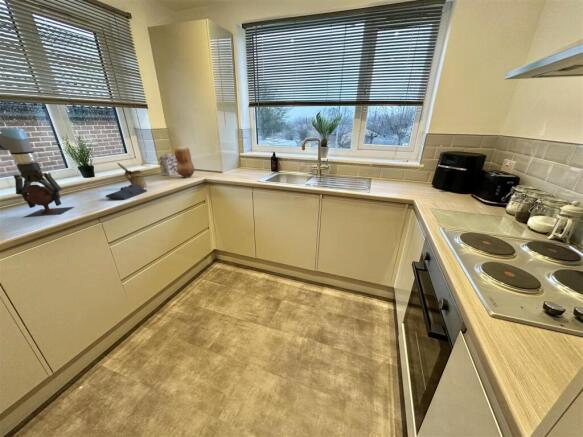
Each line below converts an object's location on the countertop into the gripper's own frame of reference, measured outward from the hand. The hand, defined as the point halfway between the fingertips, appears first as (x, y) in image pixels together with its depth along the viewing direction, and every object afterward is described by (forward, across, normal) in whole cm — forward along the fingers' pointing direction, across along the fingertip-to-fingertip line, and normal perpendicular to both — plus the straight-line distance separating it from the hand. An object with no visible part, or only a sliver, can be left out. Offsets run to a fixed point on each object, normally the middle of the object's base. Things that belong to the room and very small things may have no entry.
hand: (46, 206), depth 123 cm
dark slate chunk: (+4, -27, -26) cm, 38 cm away
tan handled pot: (+4, -25, -46) cm, 52 cm away
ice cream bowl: (+4, 0, 0) cm, 4 cm away
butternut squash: (+4, -55, -72) cm, 91 cm away
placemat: (+4, 0, 0) cm, 4 cm away
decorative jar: (+4, -39, -88) cm, 96 cm away
